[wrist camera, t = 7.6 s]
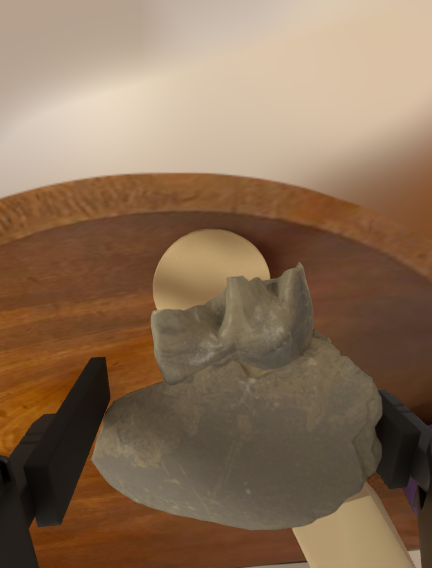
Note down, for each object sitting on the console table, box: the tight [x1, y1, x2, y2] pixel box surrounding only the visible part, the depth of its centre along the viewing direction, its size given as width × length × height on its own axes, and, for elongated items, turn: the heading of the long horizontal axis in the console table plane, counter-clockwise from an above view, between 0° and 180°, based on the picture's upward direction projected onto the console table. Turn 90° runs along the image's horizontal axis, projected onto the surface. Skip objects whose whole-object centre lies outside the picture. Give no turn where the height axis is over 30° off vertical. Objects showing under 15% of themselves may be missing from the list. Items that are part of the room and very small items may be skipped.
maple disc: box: [153, 229, 270, 310], centre depth 31 cm, size 13×13×2 cm
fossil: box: [91, 262, 382, 530], centre depth 13 cm, size 14×10×10 cm
